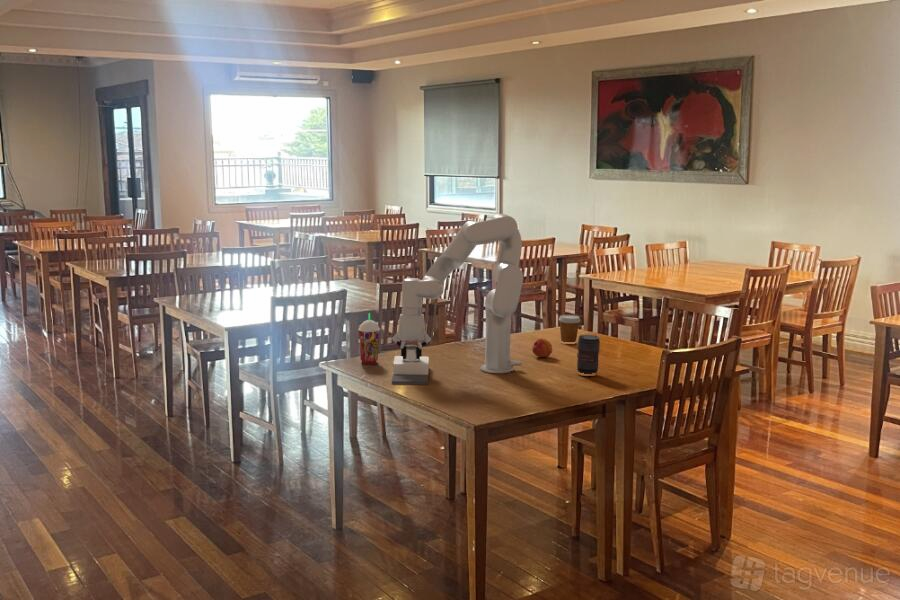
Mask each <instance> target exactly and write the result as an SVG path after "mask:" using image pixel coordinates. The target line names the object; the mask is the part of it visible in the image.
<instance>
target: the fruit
mask: <svg viewBox="0 0 900 600" xmlns="http://www.w3.org/2000/svg"><path fill="white" fill-rule="evenodd" d="M531 350H532V353H533V355H535V356H536V357H539V358H541V357H546V358H549V357H550V355H551V354H552V353H553V346H552V343H550V341H548V340H547V339H545V338H539V339H537V340H536V341H535V342H534V343H533V346H532V349H531Z"/></svg>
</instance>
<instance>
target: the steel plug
mask: <svg viewBox="0 0 900 600" xmlns="http://www.w3.org/2000/svg"><path fill="white" fill-rule="evenodd" d="M404 346H405V362H418V346H419V345H418V344H417V345H416V344H406V345H405V344H404Z"/></svg>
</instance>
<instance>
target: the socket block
mask: <svg viewBox="0 0 900 600" xmlns="http://www.w3.org/2000/svg"><path fill="white" fill-rule="evenodd" d="M429 361H430V360H429V356H425V355H424V356H421V357H420V359H418V362H405V359H403V356H401V355H395V356H394V359H393V364H392V365H393V368H392V369H393V370H392V371H393V373H392V375H393V374H408V375H428V376H429V366H430V364H429V363H430V362H429Z"/></svg>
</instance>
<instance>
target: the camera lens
mask: <svg viewBox="0 0 900 600" xmlns="http://www.w3.org/2000/svg"><path fill="white" fill-rule="evenodd" d="M600 343H601V342H600V336H597V335H594V334H580V335H579V336H578V340H577V355H576V357H577V362H576V363H577V364H576V367H577V368H576V369H577V370H576V371H577V372H580V373H584V374H592V373H596V374H597V373H598V371H599V370H598V369H599V354H600V347H601V346H600Z"/></svg>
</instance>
